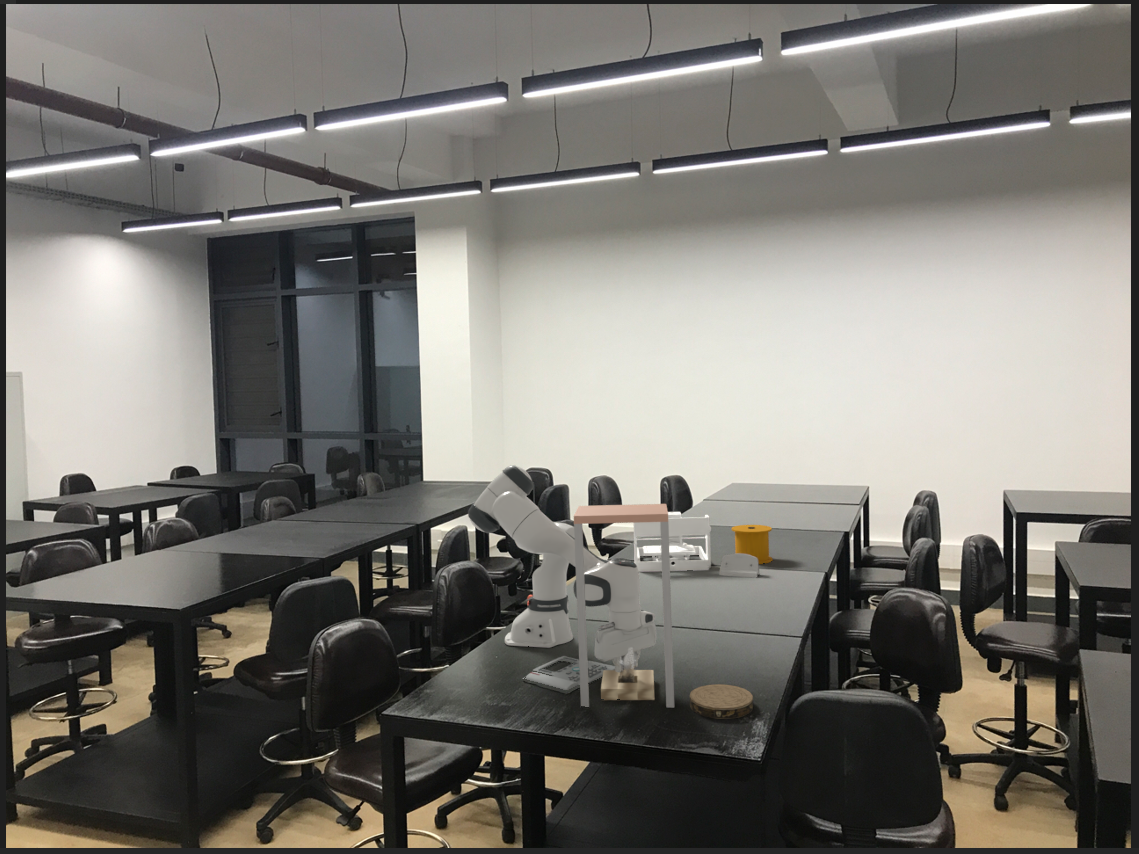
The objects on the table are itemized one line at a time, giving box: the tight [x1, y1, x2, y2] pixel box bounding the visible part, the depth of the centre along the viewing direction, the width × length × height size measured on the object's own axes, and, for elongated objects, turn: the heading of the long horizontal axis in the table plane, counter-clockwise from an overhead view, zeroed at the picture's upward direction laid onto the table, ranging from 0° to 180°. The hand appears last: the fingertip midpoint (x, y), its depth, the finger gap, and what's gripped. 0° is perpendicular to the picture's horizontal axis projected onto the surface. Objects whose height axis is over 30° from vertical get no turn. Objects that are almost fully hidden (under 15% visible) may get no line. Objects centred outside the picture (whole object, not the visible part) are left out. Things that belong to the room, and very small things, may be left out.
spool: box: [730, 524, 773, 565], centre depth 373 cm, size 18×18×15 cm
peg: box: [619, 647, 635, 683], centre depth 222 cm, size 4×4×10 cm
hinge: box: [718, 553, 761, 578], centre depth 347 cm, size 17×5×10 cm, turn 65°
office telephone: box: [521, 655, 615, 690], centre depth 236 cm, size 23×3×20 cm
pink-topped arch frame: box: [573, 503, 675, 708], centre depth 217 cm, size 24×17×50 cm
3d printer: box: [632, 511, 712, 573], centre depth 373 cm, size 35×32×25 cm
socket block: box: [600, 669, 655, 701], centre depth 222 cm, size 14×14×3 cm
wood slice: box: [689, 683, 754, 720], centre depth 209 cm, size 16×16×3 cm
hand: (626, 669), depth 222 cm, fingers closed on peg, 4 cm apart
